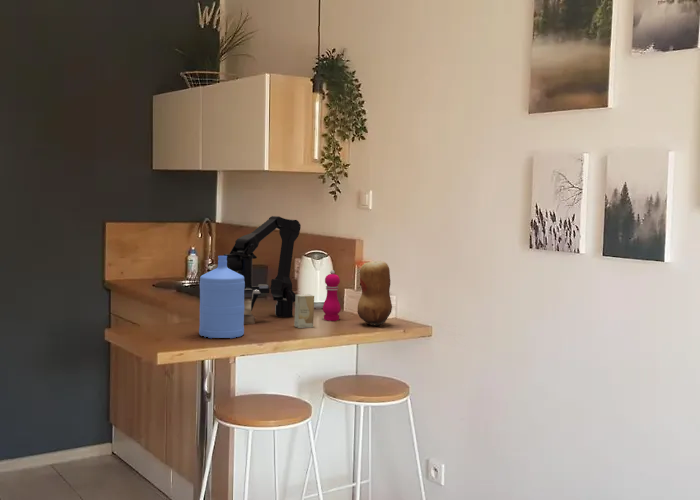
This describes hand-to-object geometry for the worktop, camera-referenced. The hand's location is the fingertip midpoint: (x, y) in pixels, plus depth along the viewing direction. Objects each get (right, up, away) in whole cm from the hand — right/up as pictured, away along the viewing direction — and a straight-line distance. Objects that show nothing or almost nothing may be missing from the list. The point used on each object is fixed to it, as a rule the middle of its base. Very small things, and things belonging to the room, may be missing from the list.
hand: (244, 310), depth 304 cm
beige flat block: (0, -5, 0) cm, 5 cm away
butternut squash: (+50, -6, +1) cm, 51 cm away
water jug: (-4, -7, -27) cm, 28 cm away
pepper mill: (+33, -5, +12) cm, 36 cm away
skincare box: (+23, -6, -7) cm, 25 cm away
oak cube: (0, -1, 0) cm, 1 cm away
